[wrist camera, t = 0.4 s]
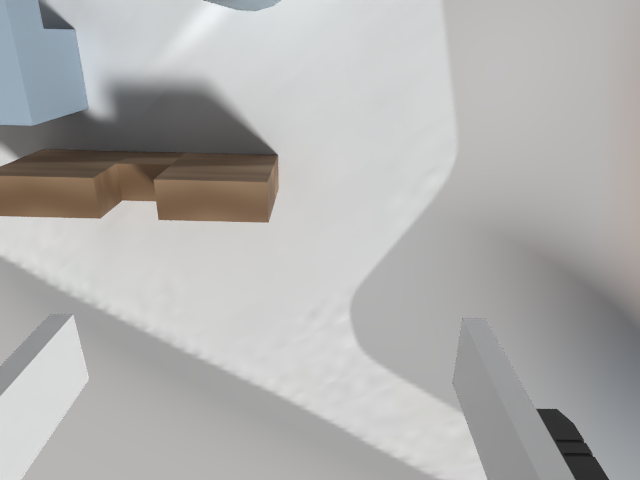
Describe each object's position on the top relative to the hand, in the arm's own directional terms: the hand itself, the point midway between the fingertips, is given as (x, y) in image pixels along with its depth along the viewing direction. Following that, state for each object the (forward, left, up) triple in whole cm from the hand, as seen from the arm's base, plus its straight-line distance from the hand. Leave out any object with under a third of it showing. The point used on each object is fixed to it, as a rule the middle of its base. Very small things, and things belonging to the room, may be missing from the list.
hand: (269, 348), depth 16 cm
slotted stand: (+1, -12, -26) cm, 29 cm away
